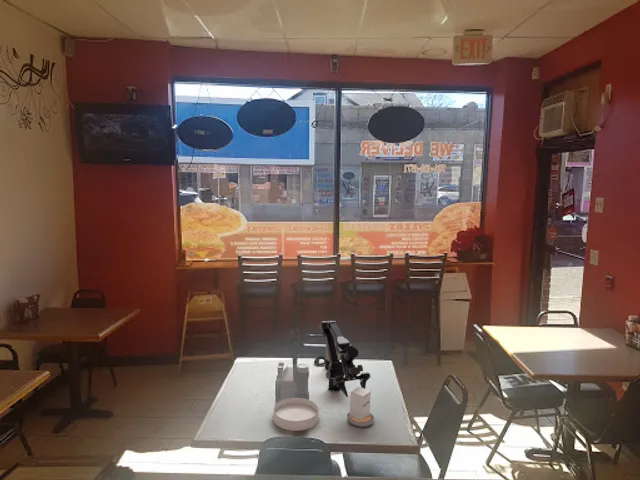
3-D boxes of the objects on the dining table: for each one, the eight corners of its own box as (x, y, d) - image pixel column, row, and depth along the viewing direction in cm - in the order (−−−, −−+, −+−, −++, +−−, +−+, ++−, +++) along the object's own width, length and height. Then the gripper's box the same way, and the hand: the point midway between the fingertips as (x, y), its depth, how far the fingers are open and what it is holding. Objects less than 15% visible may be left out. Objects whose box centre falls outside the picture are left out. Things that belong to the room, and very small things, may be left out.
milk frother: (340, 372, 275) (341, 348, 273) (313, 371, 275) (314, 347, 273) (339, 362, 289) (339, 339, 287) (314, 361, 289) (314, 338, 287)
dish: (328, 419, 224) (328, 409, 223) (294, 436, 208) (294, 426, 207) (297, 402, 239) (297, 393, 238) (263, 417, 223) (263, 408, 223)
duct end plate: (345, 426, 218) (345, 421, 217) (348, 411, 230) (348, 408, 230) (372, 429, 215) (373, 425, 215) (374, 415, 228) (374, 411, 228)
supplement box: (361, 421, 218) (362, 396, 216) (348, 415, 223) (349, 391, 221) (370, 415, 224) (371, 390, 222) (357, 409, 228) (358, 386, 226)
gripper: (335, 361, 226) (343, 393, 218) (370, 357, 232) (378, 387, 224) (329, 369, 234) (336, 400, 226) (362, 365, 241) (370, 395, 232)
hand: (355, 395), depth 227 cm, fingers open, 9 cm apart
